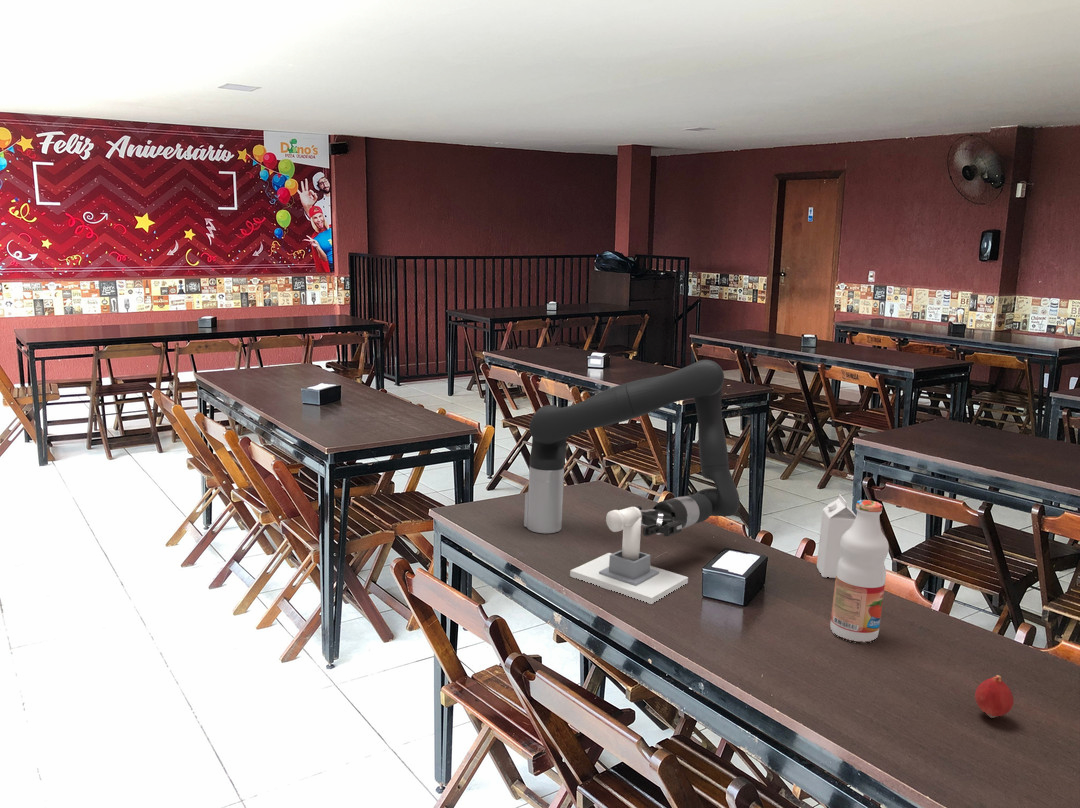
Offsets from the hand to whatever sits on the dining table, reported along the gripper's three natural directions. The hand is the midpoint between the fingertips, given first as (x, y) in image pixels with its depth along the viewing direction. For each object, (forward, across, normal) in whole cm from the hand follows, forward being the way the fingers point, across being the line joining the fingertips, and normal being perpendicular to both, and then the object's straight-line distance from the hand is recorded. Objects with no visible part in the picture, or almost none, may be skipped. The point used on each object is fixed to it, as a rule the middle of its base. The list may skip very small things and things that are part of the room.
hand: (630, 526), depth 199 cm
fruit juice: (-18, +47, +13) cm, 52 cm away
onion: (-8, +78, +13) cm, 79 cm away
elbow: (+1, 0, +11) cm, 11 cm away
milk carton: (-45, +27, +13) cm, 54 cm away
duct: (-1, 0, +13) cm, 13 cm away
